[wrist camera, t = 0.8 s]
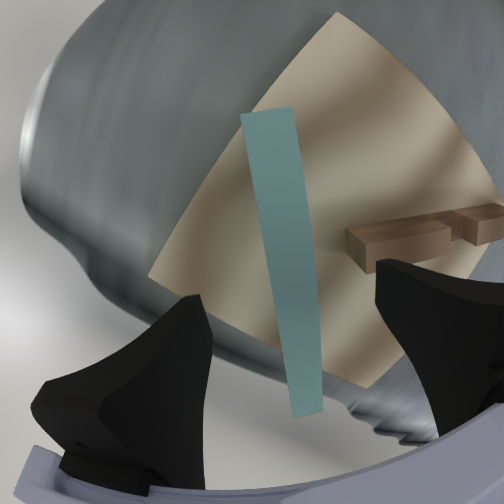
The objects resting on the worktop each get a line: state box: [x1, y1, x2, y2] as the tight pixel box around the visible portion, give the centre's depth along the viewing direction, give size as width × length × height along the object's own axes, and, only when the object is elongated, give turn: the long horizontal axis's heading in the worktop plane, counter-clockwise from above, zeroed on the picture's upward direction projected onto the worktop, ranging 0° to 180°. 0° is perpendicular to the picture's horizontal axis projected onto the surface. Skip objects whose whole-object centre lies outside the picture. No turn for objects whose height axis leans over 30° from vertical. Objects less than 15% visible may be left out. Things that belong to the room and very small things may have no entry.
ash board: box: [148, 12, 504, 389], centre depth 16 cm, size 20×20×1 cm
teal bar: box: [240, 107, 323, 417], centre depth 13 cm, size 14×2×6 cm, turn 11°
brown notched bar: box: [345, 203, 504, 275], centre depth 14 cm, size 14×2×3 cm, turn 100°
